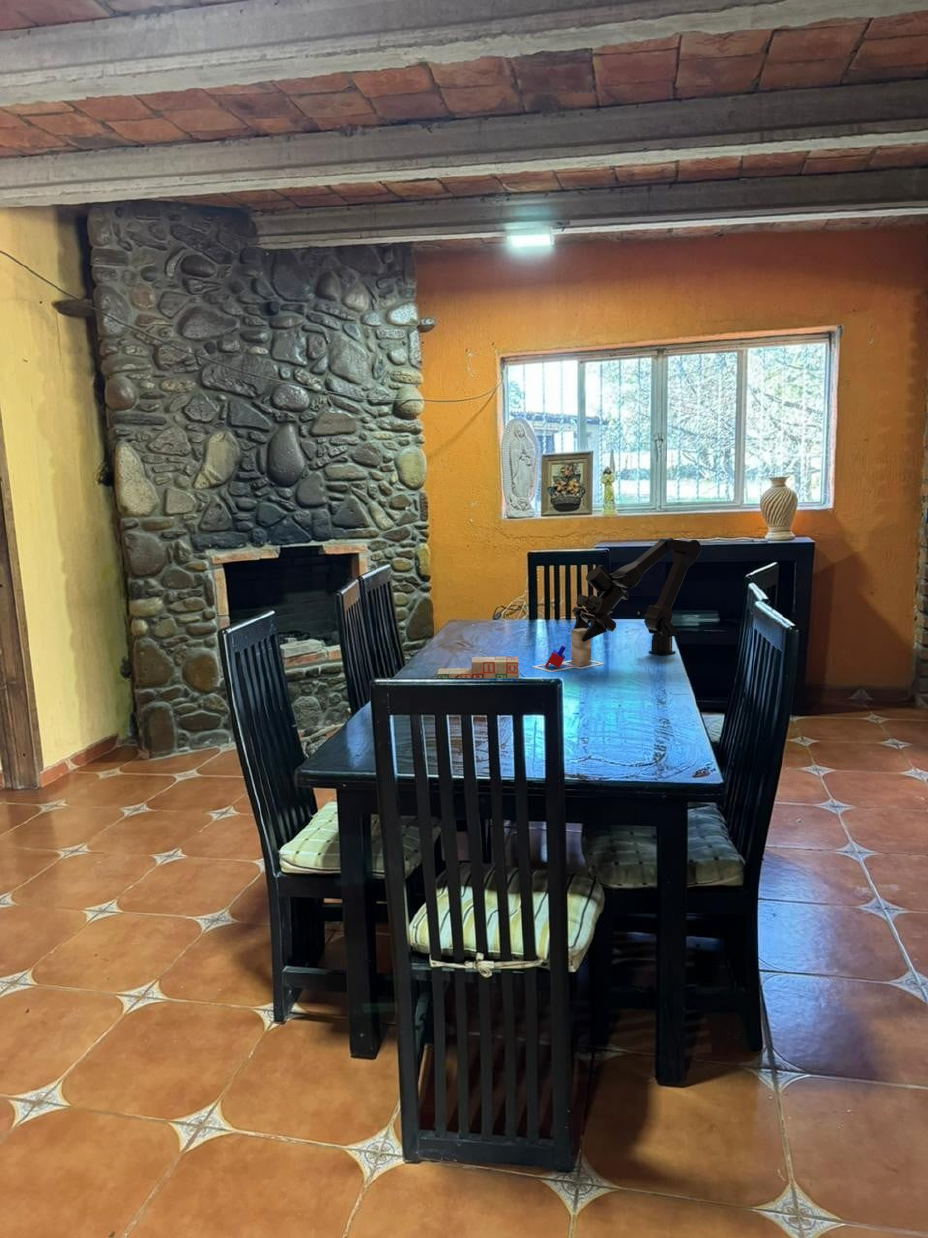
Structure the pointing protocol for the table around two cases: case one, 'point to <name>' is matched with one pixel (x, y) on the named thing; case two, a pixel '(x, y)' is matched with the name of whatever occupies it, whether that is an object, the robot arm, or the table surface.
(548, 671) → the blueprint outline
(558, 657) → the toy building block
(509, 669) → the stack of blocks
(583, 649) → the beech pillar
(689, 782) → the table surface
